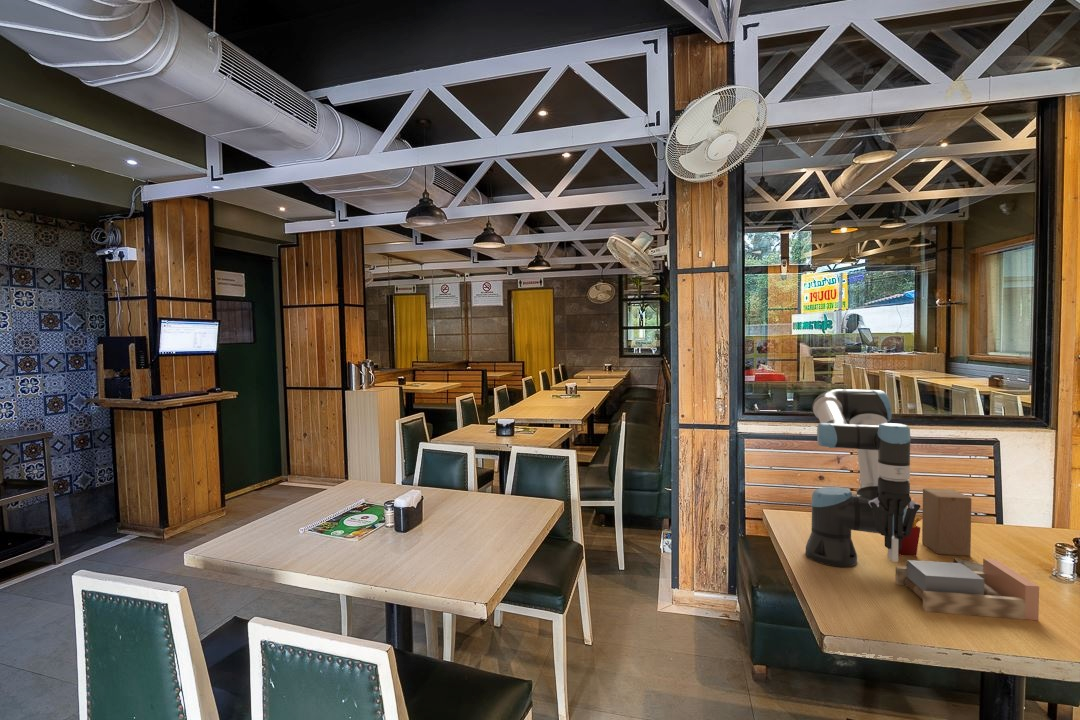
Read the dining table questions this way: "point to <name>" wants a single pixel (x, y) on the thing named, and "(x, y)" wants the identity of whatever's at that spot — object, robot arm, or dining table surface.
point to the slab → (944, 577)
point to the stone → (970, 565)
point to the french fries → (911, 541)
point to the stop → (1012, 586)
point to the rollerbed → (966, 600)
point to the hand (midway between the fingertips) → (892, 559)
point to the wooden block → (946, 522)
